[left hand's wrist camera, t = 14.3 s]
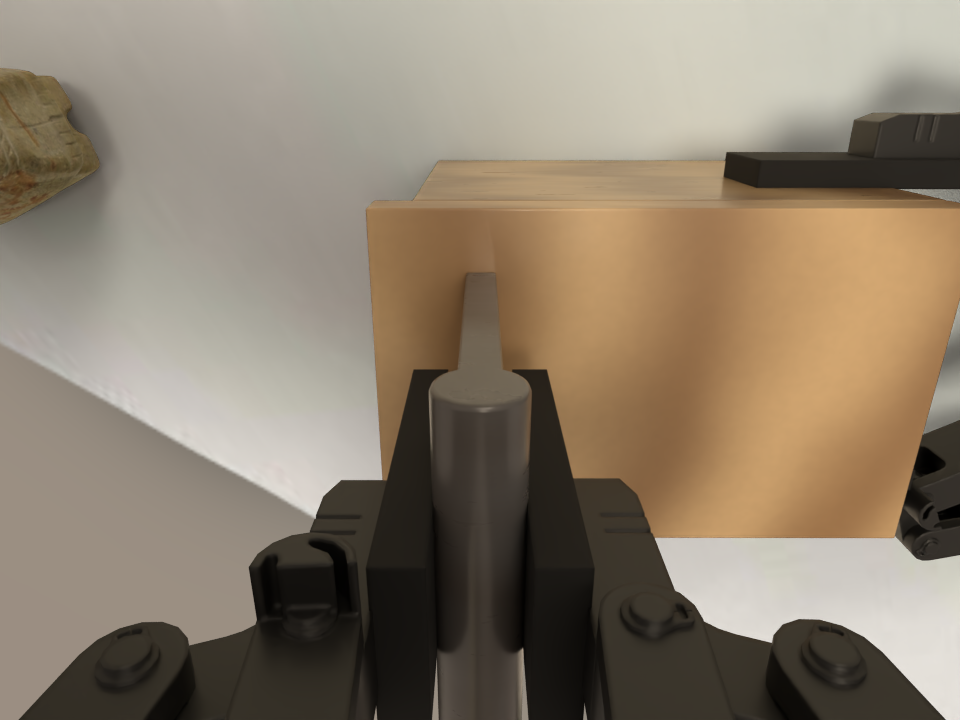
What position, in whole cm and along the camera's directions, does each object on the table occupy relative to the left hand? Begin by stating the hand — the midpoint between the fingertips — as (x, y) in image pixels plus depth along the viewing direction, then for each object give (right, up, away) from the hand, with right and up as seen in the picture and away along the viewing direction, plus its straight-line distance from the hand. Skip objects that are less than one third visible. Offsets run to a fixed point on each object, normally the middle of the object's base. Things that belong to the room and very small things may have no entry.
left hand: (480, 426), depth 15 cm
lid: (+4, +1, +3) cm, 5 cm away
